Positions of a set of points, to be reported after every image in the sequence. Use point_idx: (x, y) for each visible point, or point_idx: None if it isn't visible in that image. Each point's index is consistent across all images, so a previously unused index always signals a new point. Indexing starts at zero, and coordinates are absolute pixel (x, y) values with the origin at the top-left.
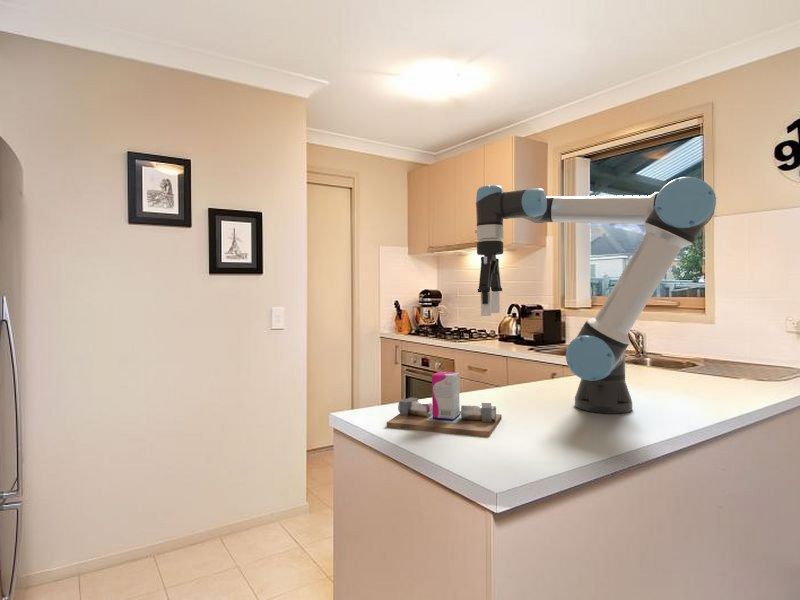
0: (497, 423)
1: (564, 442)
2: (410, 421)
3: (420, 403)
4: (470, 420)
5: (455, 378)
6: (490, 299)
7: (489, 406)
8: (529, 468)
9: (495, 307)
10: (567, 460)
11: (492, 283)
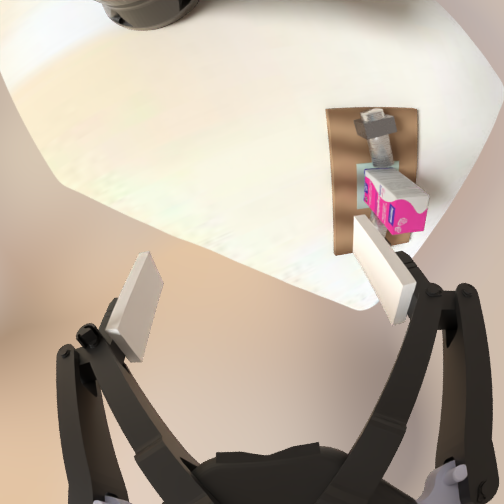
0: (361, 107)
1: (395, 17)
2: None
3: (386, 228)
4: None
5: (414, 192)
6: (398, 257)
7: (385, 121)
8: (473, 62)
9: (149, 283)
10: (445, 24)
11: (141, 394)
